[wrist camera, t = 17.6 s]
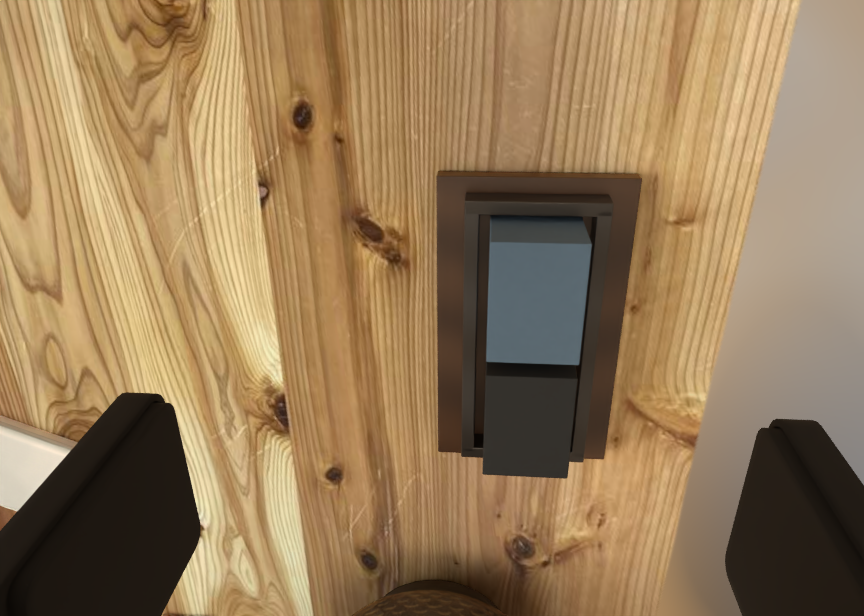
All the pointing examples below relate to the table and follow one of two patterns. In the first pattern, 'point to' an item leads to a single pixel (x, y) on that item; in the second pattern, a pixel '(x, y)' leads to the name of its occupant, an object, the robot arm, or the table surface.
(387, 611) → the planter
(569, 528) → the table surface
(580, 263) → the blue-grey rectangular block
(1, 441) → the hard drive
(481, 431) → the backing board
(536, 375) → the pad
